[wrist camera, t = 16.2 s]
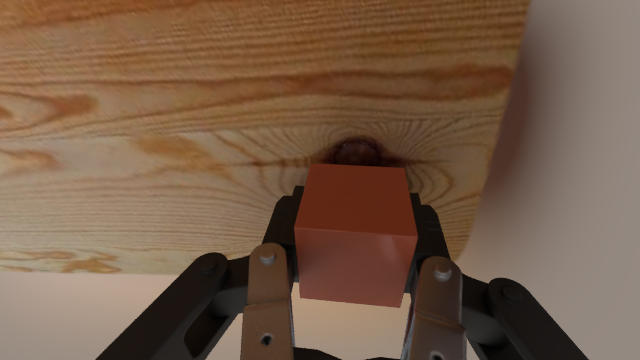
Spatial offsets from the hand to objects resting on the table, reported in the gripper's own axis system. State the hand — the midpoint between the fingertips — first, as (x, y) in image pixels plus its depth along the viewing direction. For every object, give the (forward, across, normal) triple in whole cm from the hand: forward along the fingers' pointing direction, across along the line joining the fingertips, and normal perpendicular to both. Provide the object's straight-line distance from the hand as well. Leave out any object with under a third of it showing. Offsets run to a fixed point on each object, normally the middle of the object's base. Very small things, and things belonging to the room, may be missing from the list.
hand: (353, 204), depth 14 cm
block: (0, 0, 0) cm, 0 cm away
